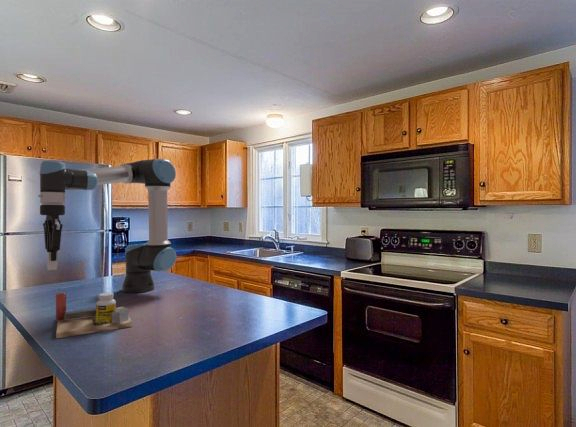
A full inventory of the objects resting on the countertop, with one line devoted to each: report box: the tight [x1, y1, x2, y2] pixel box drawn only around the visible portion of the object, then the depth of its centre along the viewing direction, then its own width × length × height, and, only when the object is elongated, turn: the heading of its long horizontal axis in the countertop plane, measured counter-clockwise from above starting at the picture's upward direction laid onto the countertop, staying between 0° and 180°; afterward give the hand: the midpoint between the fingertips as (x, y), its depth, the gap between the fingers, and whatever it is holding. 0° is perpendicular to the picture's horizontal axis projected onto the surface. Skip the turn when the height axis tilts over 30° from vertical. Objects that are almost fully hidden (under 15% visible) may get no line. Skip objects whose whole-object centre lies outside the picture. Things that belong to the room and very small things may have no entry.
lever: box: [55, 292, 96, 322], centre depth 126 cm, size 16×4×9 cm, turn 122°
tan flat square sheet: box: [55, 306, 133, 339], centre depth 126 cm, size 22×22×2 cm
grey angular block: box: [112, 307, 130, 329], centre depth 123 cm, size 5×3×6 cm, turn 172°
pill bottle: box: [95, 292, 117, 326], centre depth 124 cm, size 6×6×11 cm
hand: (52, 269), depth 128 cm, fingers closed
